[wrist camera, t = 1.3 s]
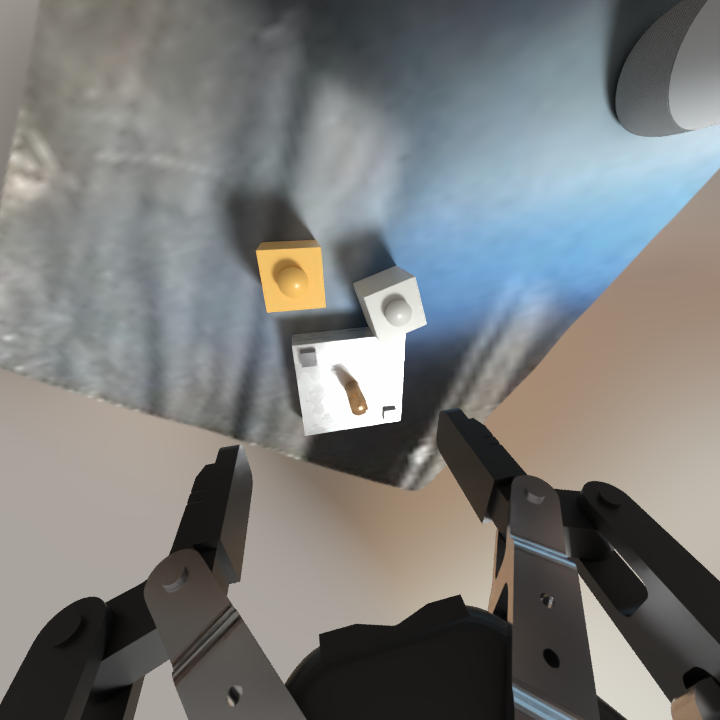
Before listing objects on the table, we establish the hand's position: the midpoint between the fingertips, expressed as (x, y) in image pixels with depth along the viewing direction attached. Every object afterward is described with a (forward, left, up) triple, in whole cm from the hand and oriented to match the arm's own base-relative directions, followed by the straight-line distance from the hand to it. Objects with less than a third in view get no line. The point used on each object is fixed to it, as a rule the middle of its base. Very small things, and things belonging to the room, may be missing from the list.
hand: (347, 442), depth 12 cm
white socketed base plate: (+10, +3, -22) cm, 24 cm away
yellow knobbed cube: (-3, -2, -22) cm, 22 cm away
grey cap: (+1, +7, -22) cm, 23 cm away
